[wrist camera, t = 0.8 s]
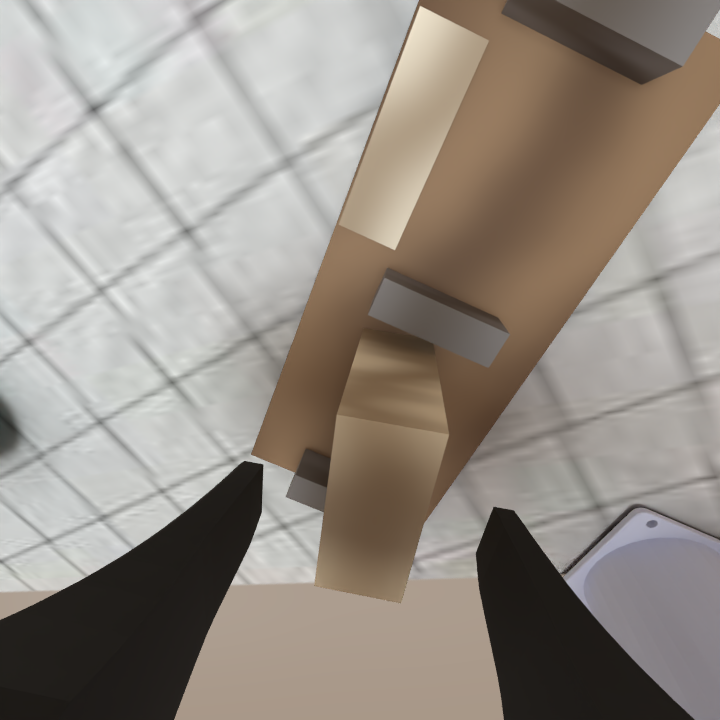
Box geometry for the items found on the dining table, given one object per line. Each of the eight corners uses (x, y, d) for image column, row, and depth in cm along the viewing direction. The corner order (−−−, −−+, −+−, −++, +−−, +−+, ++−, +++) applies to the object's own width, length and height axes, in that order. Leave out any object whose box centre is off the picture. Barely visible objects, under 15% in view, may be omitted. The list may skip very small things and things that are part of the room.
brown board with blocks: (732, 64, 12) (817, 31, 10) (422, 513, 21) (424, 556, 19) (453, -82, 12) (466, -158, 9) (256, 445, 21) (235, 480, 18)
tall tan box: (432, 339, 16) (449, 434, 10) (402, 467, 19) (401, 603, 13) (362, 327, 16) (334, 414, 10) (343, 455, 19) (312, 585, 13)
